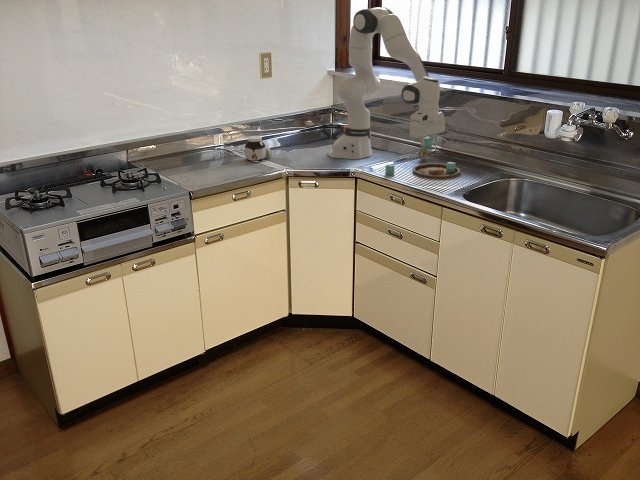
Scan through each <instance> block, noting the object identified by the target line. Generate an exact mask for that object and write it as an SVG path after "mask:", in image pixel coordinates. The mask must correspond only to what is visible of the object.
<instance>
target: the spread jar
mask: <svg viewBox="0 0 640 480" xmlns="http://www.w3.org/2000/svg"><path fill="white" fill-rule="evenodd" d="M272 156H273V152H272V150H271V148H270V147H269V146H267V145H266V144H265V142H264V141H263V140H262V136H260V135H251V136H248V137H247V141H246V142H245V145H244V158H245V160H247V161H248V162H250V161H261V162H263V161H264V160H265V159H271V158H272Z"/></svg>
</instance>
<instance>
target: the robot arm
mask: <svg viewBox="0 0 640 480" xmlns="http://www.w3.org/2000/svg"><path fill="white" fill-rule="evenodd" d="M352 23H353V25H352V26H351V29H350V34H349V40H348V41H349V42H348V43H349V44H348V45H349V46H348V64H349V66H350V67H352V68H353V69H354V74H355V76H354V77H353V76H352V77H348V78H345V79H343V80H341V81H340V82H339V83H338V85H337V88H336V89H337V94H338V97H339V98H340V99H341V101H343V102H344V104H345V107H346V110H347V125H344V127H343V134H342V135H341V136H340V137H338V138H337V139H336V140H335V141H333V145H332V149H330V150H329V151H328V152H327V153H328V157H329V158H334V159H335V158H336V159H337V158H338V159H348V160H349V159H350V160H361V159H364V158H368V157H369V158H370V157H372V156H373V151H372V145H371V137H372V136H371V135H372V130H371V111H370V110H369V108H367V107H366V105H365V101H364V100H365V99H369V98H373V97H375V96H376V95H378V94H379V93H380V91H381V89H382V84H381V81H380V79H379V77H378V76H377V75H376V74H375V71H374V67H373V38H374V36H375V34H378V35H379V34H380V35H381V38H382V41H383V42H382V43H383V44H384V47H385V50H386V53H387V54H388V55H389V57H391V58H392V59H394V60H395V61H399V62H402V63H404V64H406V65H407V66H408V67H409V68H410V70H411V73H412V74H413V77H414V79H415V82H412V83H408V84H405V85H403V88H401V89H402V90H401V99H402V101H403V102H404V104H406V105H408V106H415V105H418V110H416V111H415V112H413V113H411V115H410V117H409V118H410V120H411V121H410V122H409V136H410V137H411V138H413V139H419V142H420V146H421V147H423V146H425V145H426V142H425V141H424V138H425V137H429V136H430V138H432V145H433V144H434V141H435V139H436V137H437V134H440V133H445V131H446V120H445V119H446V118H445V114H444V112H442V111H440V105H439V100H440V97H441V96H440V94H441V93H440V92H441V85H440V81H439V79H438V78H436V77H434V76H430V75H429V73H428V71H427V69H426V67H425V64H424V62H423V60H422V58H421V55H420V53H419V52H418V51H417V50H416V49H415V47H414V46H413V44H412V42H411V41H410V38H409V35H408V33H407V30H406V27H405V25H404V23H403V21H402V19H401V18H400V16H399V15H398V14H396V13H394V11H393V10H392V9H390V8H387V7H372V8H362V9H361V10H358V11H356V12H355V14H354V16H353V19H352Z"/></svg>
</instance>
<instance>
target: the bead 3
mask: <svg viewBox="0 0 640 480" xmlns="http://www.w3.org/2000/svg"><path fill="white" fill-rule="evenodd" d="M446 164H447V165H446V173H447V174H454V173H455V167H456V164H457V163H456V162H452V161H448V162H446Z"/></svg>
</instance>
